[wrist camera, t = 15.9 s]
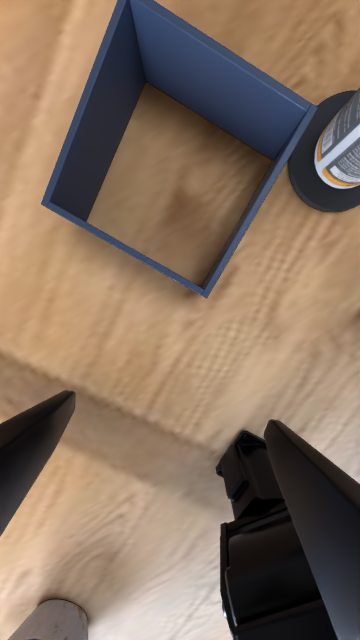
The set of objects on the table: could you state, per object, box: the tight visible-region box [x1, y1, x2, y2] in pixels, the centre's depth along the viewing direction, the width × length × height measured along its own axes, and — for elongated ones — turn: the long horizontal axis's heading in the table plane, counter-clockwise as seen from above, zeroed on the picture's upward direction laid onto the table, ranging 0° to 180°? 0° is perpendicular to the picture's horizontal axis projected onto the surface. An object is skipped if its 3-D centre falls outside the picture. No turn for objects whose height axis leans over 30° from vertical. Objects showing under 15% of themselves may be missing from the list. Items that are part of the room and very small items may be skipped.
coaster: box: [288, 91, 360, 212], centre depth 17 cm, size 9×9×1 cm
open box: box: [41, 0, 318, 298], centre depth 15 cm, size 14×14×5 cm
